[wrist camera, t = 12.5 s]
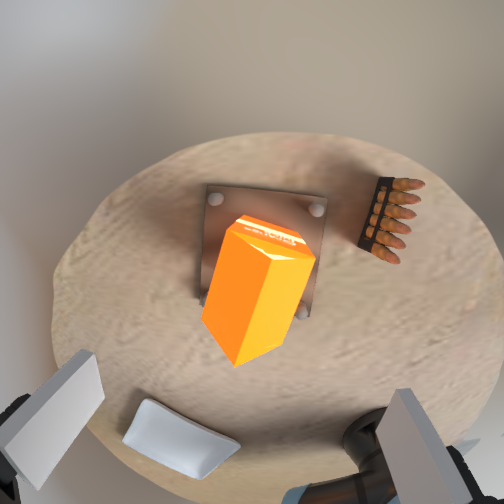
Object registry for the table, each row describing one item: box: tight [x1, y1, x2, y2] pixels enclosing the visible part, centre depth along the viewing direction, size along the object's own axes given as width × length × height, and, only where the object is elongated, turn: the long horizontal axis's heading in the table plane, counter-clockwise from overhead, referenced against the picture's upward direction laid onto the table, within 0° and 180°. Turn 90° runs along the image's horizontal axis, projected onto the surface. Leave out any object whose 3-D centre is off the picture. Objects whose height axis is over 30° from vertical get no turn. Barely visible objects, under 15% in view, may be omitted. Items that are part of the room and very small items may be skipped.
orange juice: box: [201, 215, 316, 368], centre depth 28 cm, size 8×9×20 cm
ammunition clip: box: [358, 177, 425, 264], centre depth 31 cm, size 11×2×12 cm, turn 163°
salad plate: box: [122, 398, 241, 480], centre depth 48 cm, size 21×21×3 cm
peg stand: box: [199, 185, 328, 320], centre depth 37 cm, size 17×16×4 cm
